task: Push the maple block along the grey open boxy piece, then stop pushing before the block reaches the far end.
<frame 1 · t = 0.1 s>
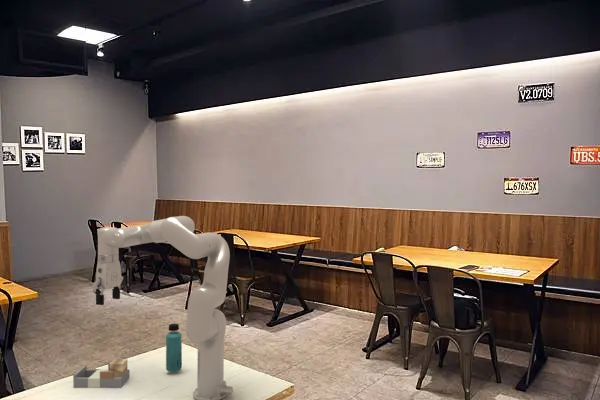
hand: (108, 301, 183), 31 cm above the table, tool pointing down, fingers open, 9 cm apart
beverage bottle: (173, 372, 192), on the table
maple block: (118, 373, 181), point 3 cm above the table, touching grey open boxy piece
grey open boxy piece: (102, 382, 181), on the table
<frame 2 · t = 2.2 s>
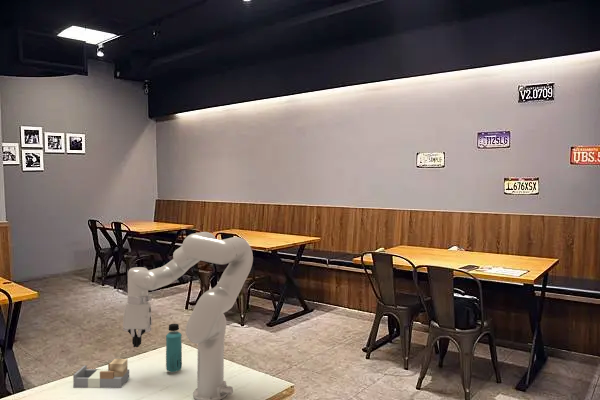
hand: (136, 346, 181), 15 cm above the table, tool pointing down, fingers closed
nothing on the table moved.
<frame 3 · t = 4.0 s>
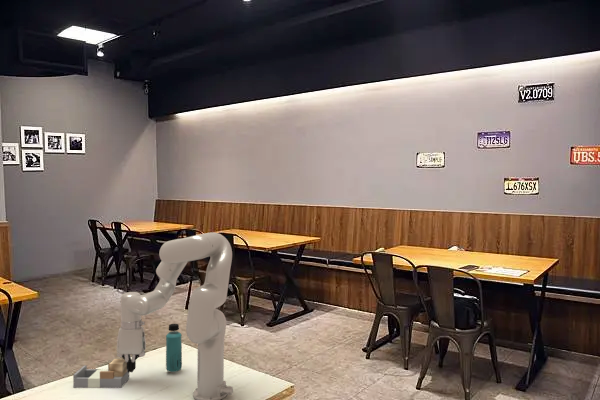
hand: (131, 370, 181), 5 cm above the table, tool pointing down, fingers closed
maple block: (118, 374, 181), point 3 cm above the table, touching grey open boxy piece, gripper
everything else where it was.
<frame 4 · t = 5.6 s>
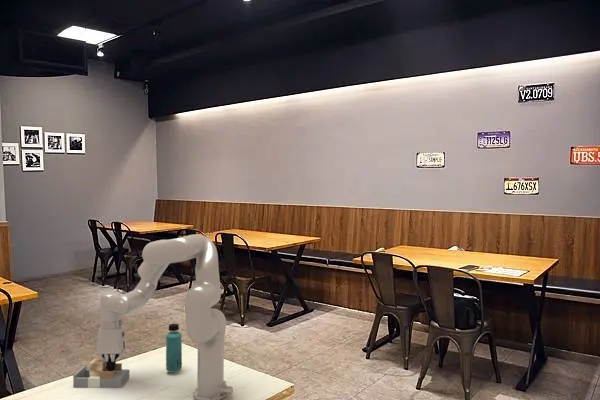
hand: (111, 370, 181), 5 cm above the table, tool pointing down, fingers closed
maple block: (98, 373, 181), point 4 cm above the table, touching grey open boxy piece, gripper
everything else where it was.
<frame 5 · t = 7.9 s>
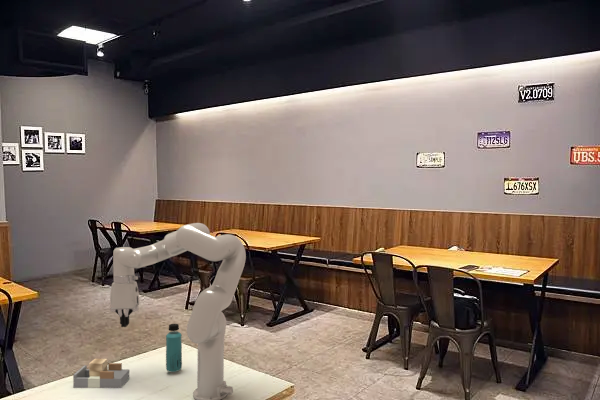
hand: (124, 326, 180), 22 cm above the table, tool pointing down, fingers closed
maple block: (98, 373, 181), point 3 cm above the table, touching grey open boxy piece
everything else where it was.
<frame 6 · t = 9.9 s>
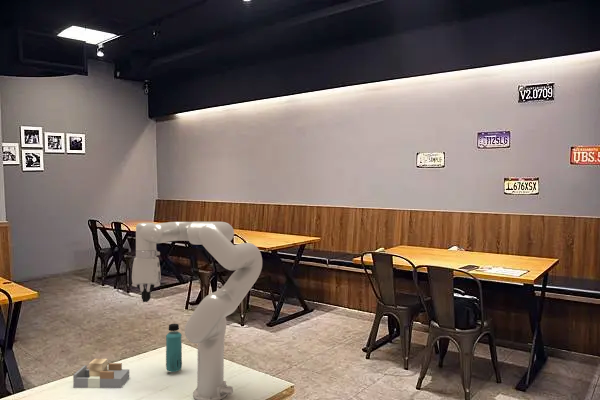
hand: (146, 301, 181), 32 cm above the table, tool pointing down, fingers closed
nothing on the table moved.
at the end: maple block 0.3 cm from the target spot, point 3.5 cm above the table; maple block tilted 0° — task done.
